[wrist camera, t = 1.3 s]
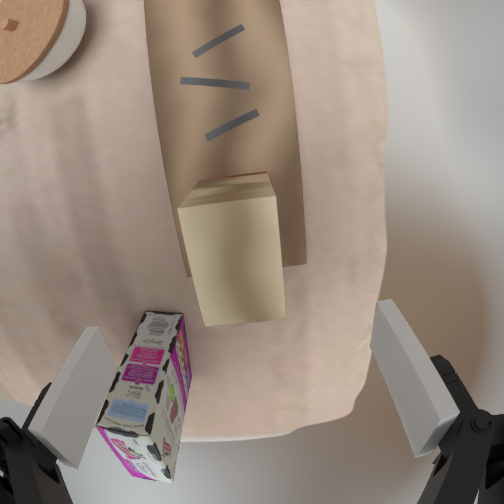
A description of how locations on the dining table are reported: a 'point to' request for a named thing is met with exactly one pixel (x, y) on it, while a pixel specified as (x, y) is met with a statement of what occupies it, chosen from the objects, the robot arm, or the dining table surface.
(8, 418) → the robot arm
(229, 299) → the block
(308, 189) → the dining table surface
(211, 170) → the board
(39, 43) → the lidded jar
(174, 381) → the candy bar box
